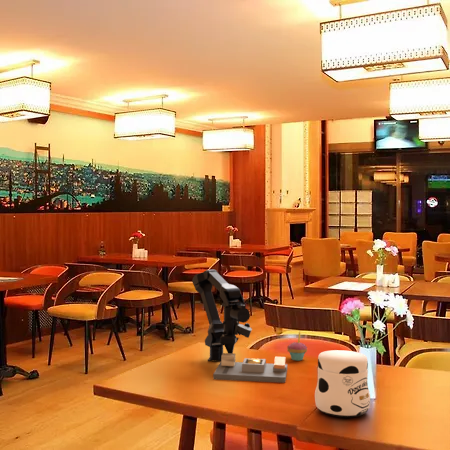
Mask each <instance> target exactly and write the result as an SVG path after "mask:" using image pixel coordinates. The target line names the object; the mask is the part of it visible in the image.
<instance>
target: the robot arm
mask: <svg viewBox="0 0 450 450" xmlns="http://www.w3.org/2000/svg"><path fill="white" fill-rule="evenodd" d="M192 284H193V287H194V289H195V291H196V292H197V293H198V294H199V295H200V296H201V300H202V304H203V307H204V311H205V314H206V318H207V321H208V323H209V324H208V329H207V335H206V337H205V339H204V344H205V346H207V347H208V348H209V357H208V359H207V361H208V362H221V356H222V354H223V353H224V347H225V349H226V353H232V354H234V350H235V349H234V347H235V345H236V344H237V343H238V341H239V339H240V337H237V336H242V337H243V336H244V337H245V338H248V339H249V338H250V335H251V333H252V330H253V328H252V327H251V324H250V323H248V321H249V320H250V318H251V312H250V311H249V309H248V308H247V307H246V303H245V299H244V297H243V295H242V291H241V290H240V288H239V287H237V286H236V285H234V284H231V283H228V281H226V279H224V278H223V277H222V275H220V274H219V272H218V270H216V269H206V270H204V271H203V272H202V271H201V272H199V273H198V274H194V276H193V277H192ZM213 287H214V288H215V289H216V290H217V291H218V292H219V297H220V299H221V300H222V303H221V306H222V307H223V322H222V321H221V319H220V315H219V312H218V308H217V305H216V303H215V302H216V301H215V299H214V298H215V297H214V295H213V292H212V290H213ZM242 323H243V324H242Z"/></svg>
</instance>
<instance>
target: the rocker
mask: <svg viewBox="0 0 450 450" xmlns="http://www.w3.org/2000/svg"><path fill="white" fill-rule="evenodd" d="M273 364H274V368H279V369H285V364H286V356H275V357H274V363H273Z"/></svg>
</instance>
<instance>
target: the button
mask: <svg viewBox="0 0 450 450" xmlns="http://www.w3.org/2000/svg"><path fill="white" fill-rule="evenodd" d="M260 359H261V358H251V359H248V363H249V364H261V360H260Z"/></svg>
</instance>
